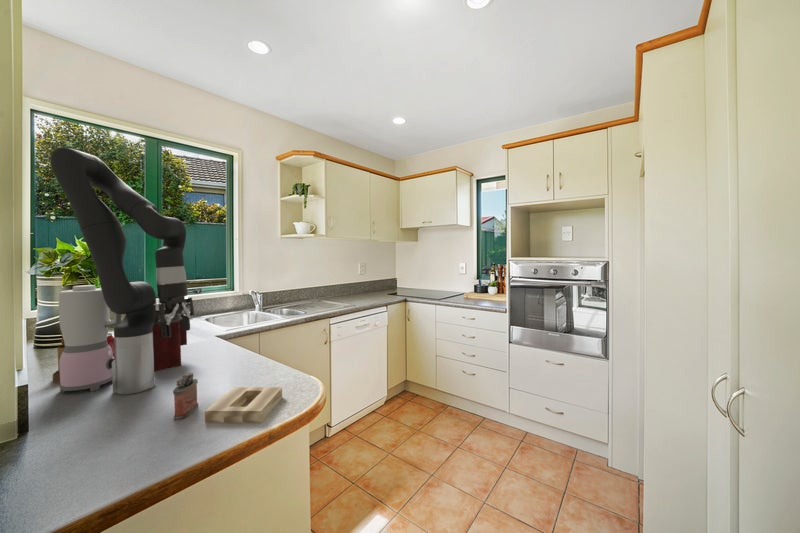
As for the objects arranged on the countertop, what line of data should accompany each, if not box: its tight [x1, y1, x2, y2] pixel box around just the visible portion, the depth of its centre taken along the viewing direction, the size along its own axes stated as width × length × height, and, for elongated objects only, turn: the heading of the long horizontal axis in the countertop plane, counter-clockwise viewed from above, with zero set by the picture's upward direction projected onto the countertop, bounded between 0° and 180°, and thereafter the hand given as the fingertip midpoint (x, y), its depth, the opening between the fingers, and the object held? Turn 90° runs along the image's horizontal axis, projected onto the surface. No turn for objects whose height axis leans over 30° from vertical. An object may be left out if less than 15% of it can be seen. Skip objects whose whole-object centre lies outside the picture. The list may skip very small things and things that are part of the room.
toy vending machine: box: [153, 298, 188, 372], centre depth 121 cm, size 9×11×28 cm
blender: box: [58, 284, 122, 394], centre depth 102 cm, size 16×12×32 cm
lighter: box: [172, 372, 199, 422], centre depth 85 cm, size 8×3×10 cm, turn 5°
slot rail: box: [204, 386, 283, 424], centre depth 87 cm, size 14×14×3 cm
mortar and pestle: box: [52, 327, 65, 383], centre depth 108 cm, size 7×6×18 cm
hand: (177, 333), depth 100 cm, fingers open, 8 cm apart
